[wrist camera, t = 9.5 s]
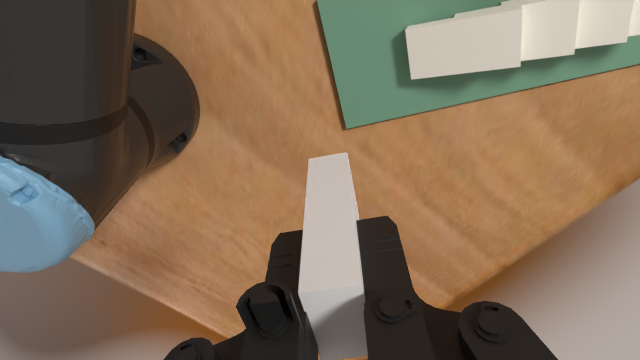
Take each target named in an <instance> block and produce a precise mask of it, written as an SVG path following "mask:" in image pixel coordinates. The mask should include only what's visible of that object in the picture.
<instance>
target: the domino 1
mask: <svg viewBox="0 0 640 360" xmlns="http://www.w3.org/2000/svg"><path fill="white" fill-rule="evenodd" d="M405 33H406V41H407V50H408V58H409V66H410V74H411V80H412V79H421V78H429V77H438V76H446V75H455V74H463V73H472V72H480V71H489V70H497V69H505V68H514V67H521V38H522V5H520V6H514V7H509V8H503V9H498V10H493V11H487V12H482V13H476V14H471V15H465V16H460V17H454V18H449V19H443V20H438V21H432V22H427V23H421V24H416V25H411V26H408V27H407V28H406V29H405Z"/></svg>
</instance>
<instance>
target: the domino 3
mask: <svg viewBox="0 0 640 360" xmlns="http://www.w3.org/2000/svg"><path fill="white" fill-rule="evenodd" d="M522 1H527V0H509V1H504V2H501V5H506V4H511V3H516V2H522ZM633 4H634V0H580V6H579V15H578V24H577V33H576V43H575V49H578V48H586V47H593V46H601V45H609V44H616V43H624V42H627V38H628V32H629V27H630V21H631V15H632V10H633Z"/></svg>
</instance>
